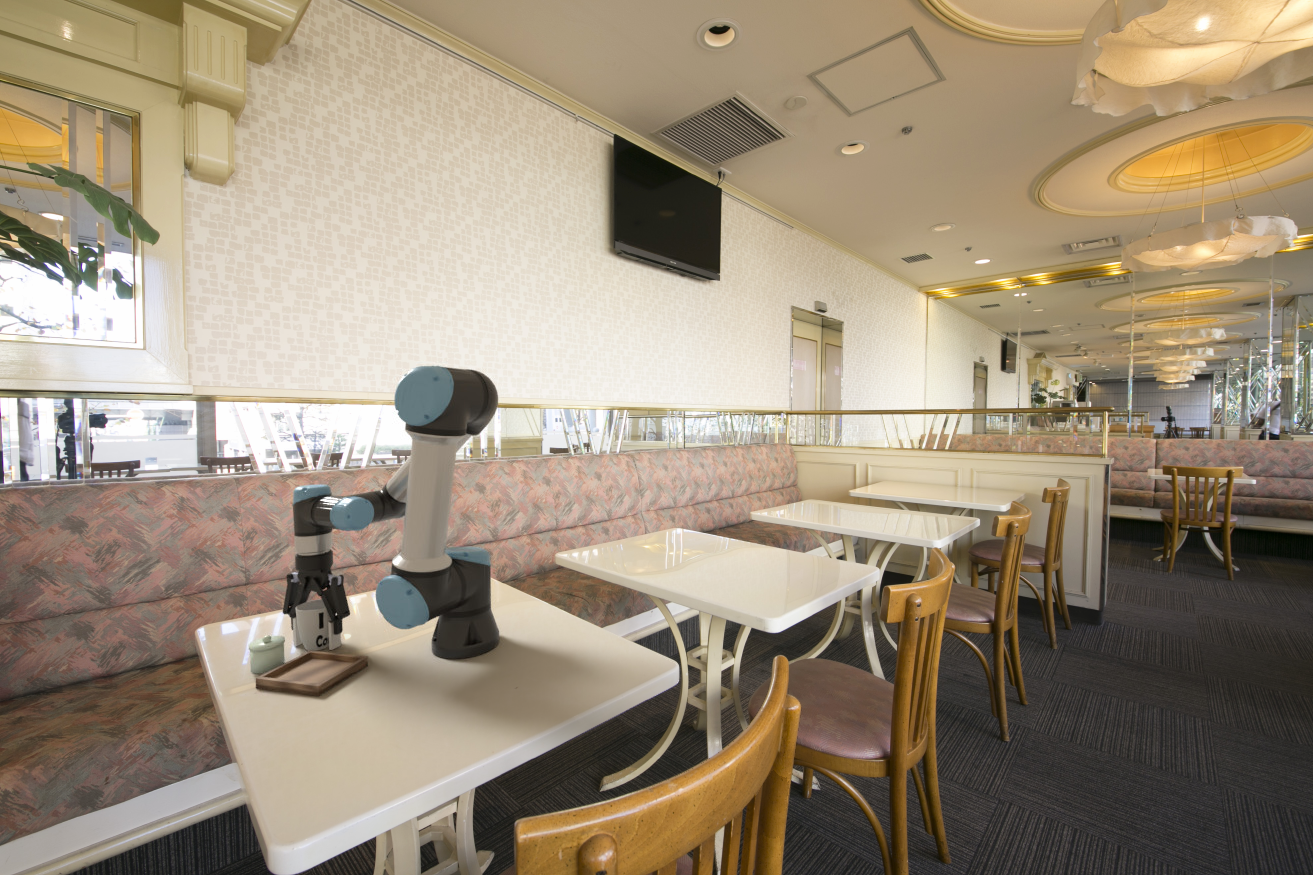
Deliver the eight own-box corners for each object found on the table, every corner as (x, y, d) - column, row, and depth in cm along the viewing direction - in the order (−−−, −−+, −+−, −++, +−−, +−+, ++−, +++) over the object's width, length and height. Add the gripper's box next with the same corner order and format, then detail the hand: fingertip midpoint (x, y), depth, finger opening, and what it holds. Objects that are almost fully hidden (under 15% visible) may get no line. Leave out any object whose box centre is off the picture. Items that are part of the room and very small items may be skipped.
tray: (368, 665, 118) (367, 656, 118) (318, 696, 106) (318, 686, 105) (310, 659, 122) (310, 650, 121) (255, 687, 109) (255, 678, 109)
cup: (318, 655, 123) (316, 611, 123) (288, 652, 125) (286, 609, 125) (345, 640, 131) (344, 599, 131) (316, 637, 133) (315, 597, 133)
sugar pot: (293, 661, 120) (291, 630, 120) (266, 675, 114) (265, 642, 114) (269, 659, 122) (268, 628, 121) (241, 672, 116) (240, 640, 115)
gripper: (366, 549, 128) (369, 642, 130) (289, 544, 133) (292, 634, 134) (341, 557, 121) (344, 656, 122) (261, 552, 126) (264, 647, 127)
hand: (317, 645), depth 128 cm, fingers open, 9 cm apart
